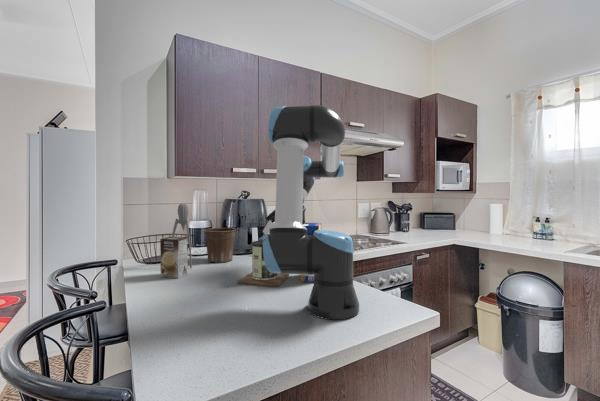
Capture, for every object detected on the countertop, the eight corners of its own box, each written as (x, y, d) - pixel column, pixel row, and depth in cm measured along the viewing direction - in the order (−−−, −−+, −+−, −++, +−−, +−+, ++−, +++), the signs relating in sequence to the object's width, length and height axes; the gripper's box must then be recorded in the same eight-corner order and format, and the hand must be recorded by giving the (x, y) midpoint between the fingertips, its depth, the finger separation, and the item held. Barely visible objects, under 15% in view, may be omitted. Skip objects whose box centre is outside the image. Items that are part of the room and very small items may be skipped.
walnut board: (277, 287, 110) (277, 284, 110) (237, 283, 114) (237, 281, 114) (289, 275, 126) (289, 272, 126) (254, 272, 130) (253, 270, 130)
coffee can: (280, 274, 124) (280, 240, 124) (273, 281, 114) (273, 244, 114) (257, 272, 126) (256, 239, 126) (248, 279, 116) (247, 243, 116)
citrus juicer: (191, 262, 149) (190, 202, 148) (202, 265, 143) (201, 203, 142) (168, 267, 140) (167, 203, 139) (179, 270, 134) (178, 204, 133)
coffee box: (159, 277, 124) (159, 238, 123) (170, 273, 130) (169, 236, 129) (178, 278, 121) (177, 239, 121) (188, 274, 127) (187, 237, 127)
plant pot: (229, 255, 165) (228, 226, 164) (242, 261, 152) (241, 229, 151) (199, 259, 155) (199, 228, 155) (210, 265, 142) (210, 232, 142)
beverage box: (301, 281, 117) (301, 225, 116) (305, 273, 128) (305, 222, 127) (318, 282, 116) (318, 226, 115) (321, 274, 126) (321, 223, 126)
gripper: (322, 204, 134) (304, 242, 122) (279, 203, 148) (258, 237, 136) (316, 193, 129) (297, 231, 117) (272, 193, 143) (250, 227, 131)
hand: (276, 234), depth 126 cm, fingers open, 13 cm apart
